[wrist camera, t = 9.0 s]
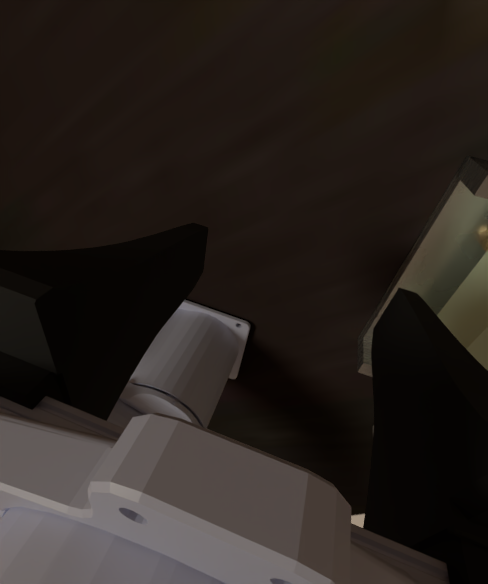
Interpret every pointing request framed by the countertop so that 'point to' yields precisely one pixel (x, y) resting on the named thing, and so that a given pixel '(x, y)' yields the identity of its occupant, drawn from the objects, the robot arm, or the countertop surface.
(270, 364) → the countertop surface
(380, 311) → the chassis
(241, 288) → the countertop surface
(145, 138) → the countertop surface
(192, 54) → the countertop surface
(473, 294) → the board
